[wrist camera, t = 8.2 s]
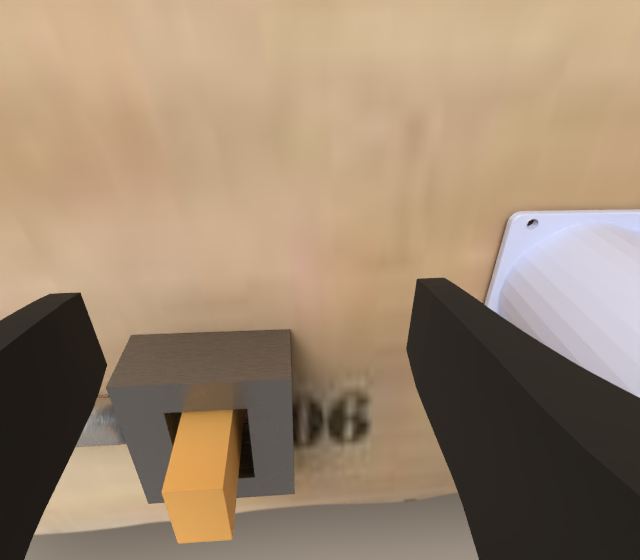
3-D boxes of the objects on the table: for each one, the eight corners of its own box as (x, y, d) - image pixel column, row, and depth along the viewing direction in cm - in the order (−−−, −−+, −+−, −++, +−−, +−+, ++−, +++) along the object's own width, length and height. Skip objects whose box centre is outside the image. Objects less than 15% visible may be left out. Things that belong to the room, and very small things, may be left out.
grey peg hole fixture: (290, 329, 21) (291, 379, 18) (292, 440, 26) (294, 494, 23) (-38, 341, 20) (-93, 396, 17) (28, 455, 25) (-6, 514, 22)
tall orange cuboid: (238, 365, 22) (222, 488, 16) (244, 414, 24) (232, 539, 19) (193, 367, 22) (161, 492, 16) (203, 416, 24) (178, 543, 18)
